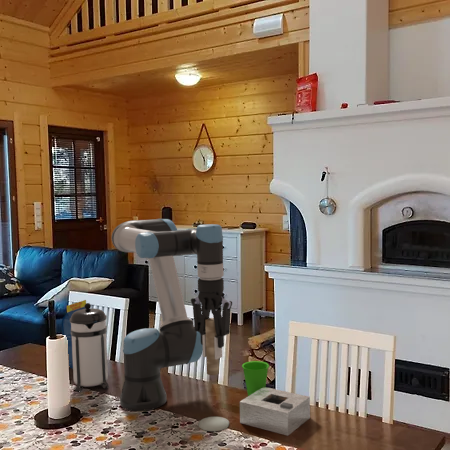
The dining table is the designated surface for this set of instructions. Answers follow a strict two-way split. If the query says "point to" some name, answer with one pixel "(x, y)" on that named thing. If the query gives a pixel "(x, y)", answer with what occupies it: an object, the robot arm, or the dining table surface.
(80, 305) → the blue food package
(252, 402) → the grey block with hole
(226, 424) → the pad
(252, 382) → the cup
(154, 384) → the robot arm
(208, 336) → the dowel
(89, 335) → the coffee press
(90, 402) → the dining table surface
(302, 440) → the dining table surface
